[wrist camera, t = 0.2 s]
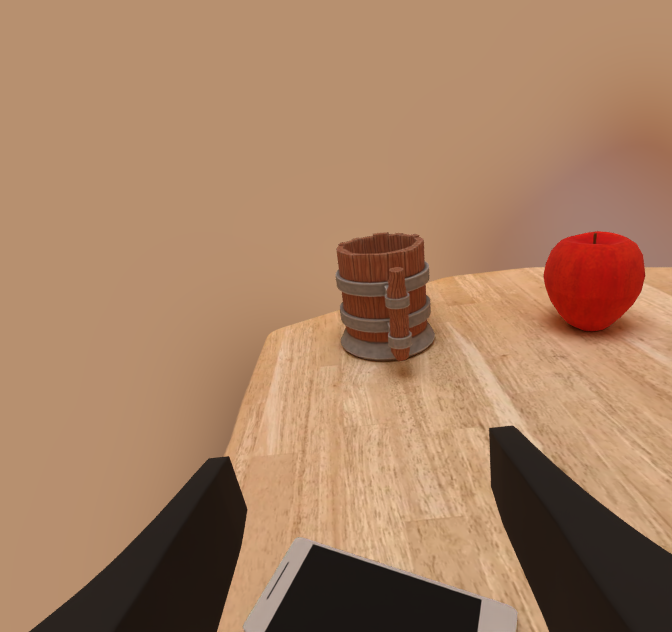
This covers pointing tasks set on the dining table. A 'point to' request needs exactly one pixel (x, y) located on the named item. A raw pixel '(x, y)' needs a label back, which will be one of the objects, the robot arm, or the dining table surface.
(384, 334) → the mug
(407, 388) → the dining table surface
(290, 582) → the smartphone
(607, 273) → the apple
